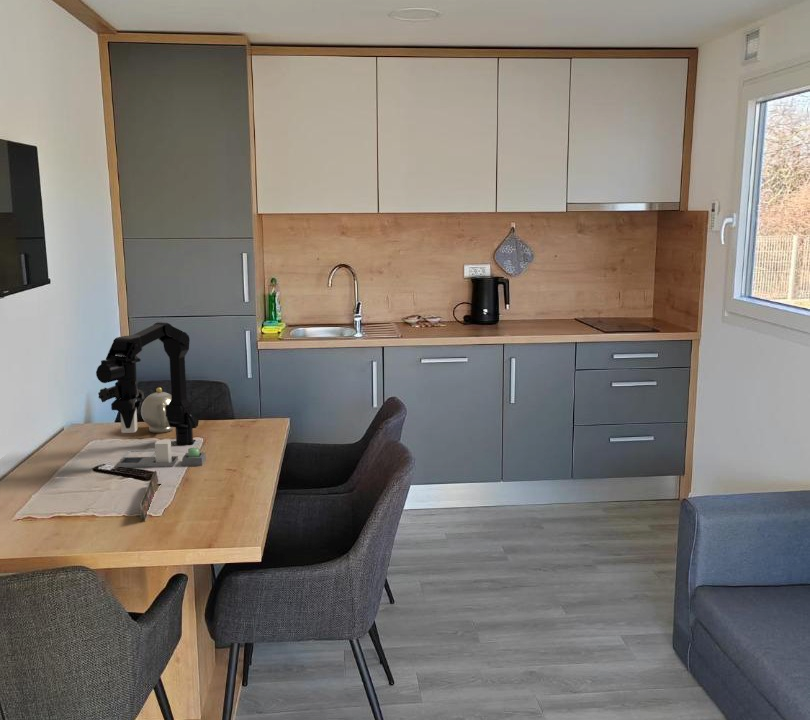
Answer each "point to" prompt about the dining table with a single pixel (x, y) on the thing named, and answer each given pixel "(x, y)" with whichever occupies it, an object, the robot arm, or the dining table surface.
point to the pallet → (145, 462)
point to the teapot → (156, 411)
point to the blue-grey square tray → (137, 451)
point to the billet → (132, 428)
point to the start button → (193, 452)
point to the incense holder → (148, 496)
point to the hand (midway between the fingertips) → (129, 426)
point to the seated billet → (163, 451)
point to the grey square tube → (194, 460)
